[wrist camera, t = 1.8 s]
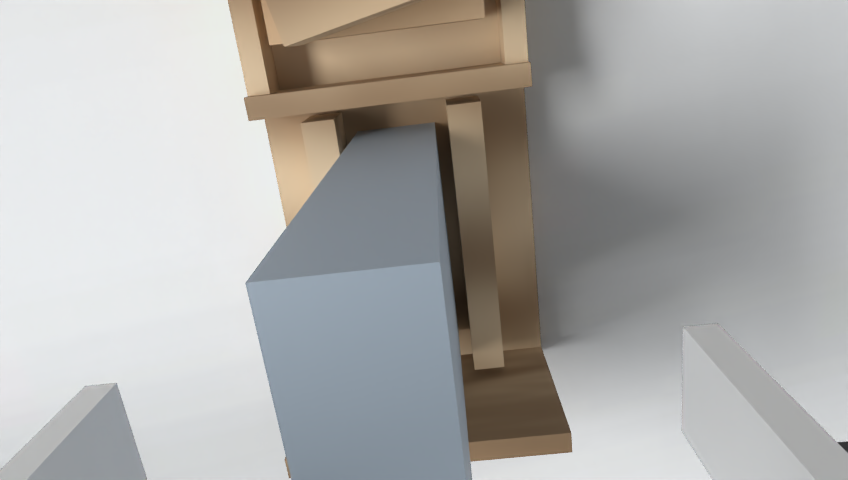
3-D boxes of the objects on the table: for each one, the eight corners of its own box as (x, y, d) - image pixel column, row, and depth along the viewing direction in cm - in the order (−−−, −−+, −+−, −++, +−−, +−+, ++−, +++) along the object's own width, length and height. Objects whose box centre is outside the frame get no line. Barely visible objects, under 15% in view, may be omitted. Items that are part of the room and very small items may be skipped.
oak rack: (205, -211, 21) (100, -324, 14) (497, -254, 20) (529, -394, 14) (322, 373, 28) (289, 478, 22) (538, 351, 28) (572, 452, 21)
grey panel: (357, 131, 23) (245, 283, 9) (434, 122, 23) (439, 261, 9) (389, 337, 26) (341, 693, 12) (458, 330, 26) (490, 682, 12)
